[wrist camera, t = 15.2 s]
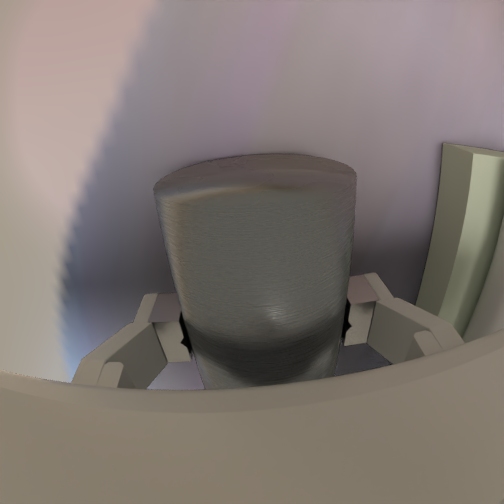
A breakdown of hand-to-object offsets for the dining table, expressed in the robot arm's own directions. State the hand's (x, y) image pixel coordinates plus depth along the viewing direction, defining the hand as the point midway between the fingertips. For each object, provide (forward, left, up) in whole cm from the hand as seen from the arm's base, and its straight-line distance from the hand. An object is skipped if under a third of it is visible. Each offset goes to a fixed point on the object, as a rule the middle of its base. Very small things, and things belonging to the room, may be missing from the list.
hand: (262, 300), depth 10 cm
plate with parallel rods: (-3, -14, -2) cm, 14 cm away
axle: (-1, 0, -2) cm, 2 cm away
